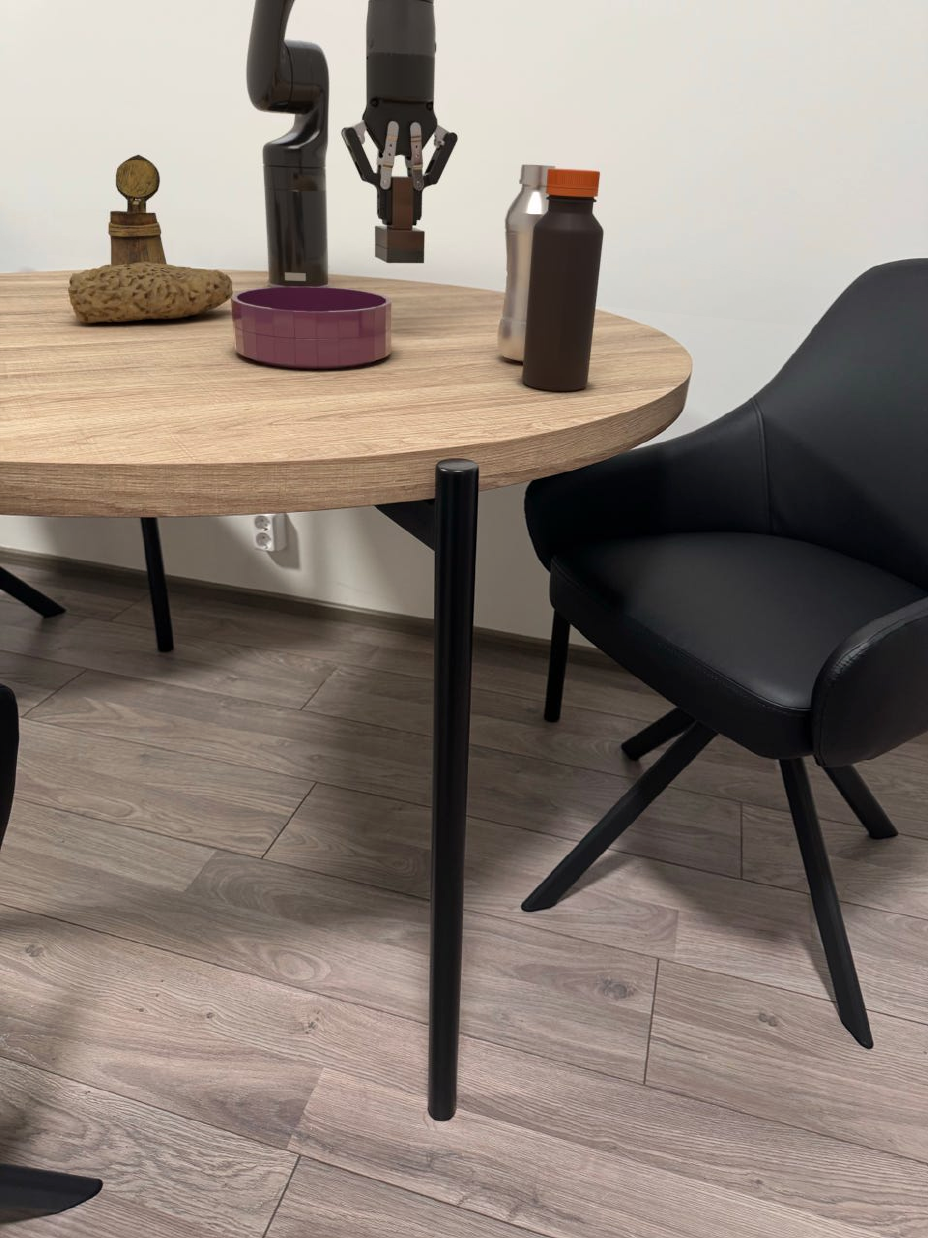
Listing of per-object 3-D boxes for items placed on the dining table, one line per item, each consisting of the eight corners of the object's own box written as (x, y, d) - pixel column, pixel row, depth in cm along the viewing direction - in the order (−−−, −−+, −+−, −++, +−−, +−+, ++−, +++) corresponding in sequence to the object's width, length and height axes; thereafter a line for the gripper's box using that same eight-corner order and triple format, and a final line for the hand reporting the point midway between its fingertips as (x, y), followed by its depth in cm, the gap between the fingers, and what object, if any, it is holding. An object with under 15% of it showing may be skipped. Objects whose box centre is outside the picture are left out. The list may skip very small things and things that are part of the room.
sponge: (83, 341, 108) (247, 302, 113) (58, 272, 105) (227, 235, 110) (87, 340, 120) (235, 304, 125) (65, 278, 117) (217, 244, 122)
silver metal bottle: (557, 357, 106) (574, 166, 97) (546, 369, 100) (563, 167, 91) (503, 352, 107) (515, 163, 98) (489, 363, 102) (500, 163, 92)
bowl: (228, 339, 107) (224, 285, 104) (371, 337, 112) (371, 285, 109) (244, 373, 92) (240, 312, 89) (408, 369, 97) (409, 310, 95)
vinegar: (532, 373, 98) (549, 167, 89) (594, 381, 96) (617, 171, 87) (513, 386, 93) (528, 167, 83) (577, 395, 91) (600, 172, 81)
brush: (374, 256, 111) (374, 174, 106) (410, 256, 112) (411, 175, 108) (387, 262, 106) (387, 176, 101) (424, 263, 107) (426, 178, 103)
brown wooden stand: (183, 288, 138) (171, 155, 130) (170, 302, 127) (156, 158, 118) (122, 286, 137) (106, 152, 129) (104, 301, 125) (84, 154, 117)
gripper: (451, 58, 104) (445, 222, 112) (330, 49, 100) (334, 220, 108) (472, 54, 98) (465, 228, 106) (344, 44, 94) (347, 226, 102)
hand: (399, 223), depth 107 cm, fingers closed on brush, 2 cm apart
